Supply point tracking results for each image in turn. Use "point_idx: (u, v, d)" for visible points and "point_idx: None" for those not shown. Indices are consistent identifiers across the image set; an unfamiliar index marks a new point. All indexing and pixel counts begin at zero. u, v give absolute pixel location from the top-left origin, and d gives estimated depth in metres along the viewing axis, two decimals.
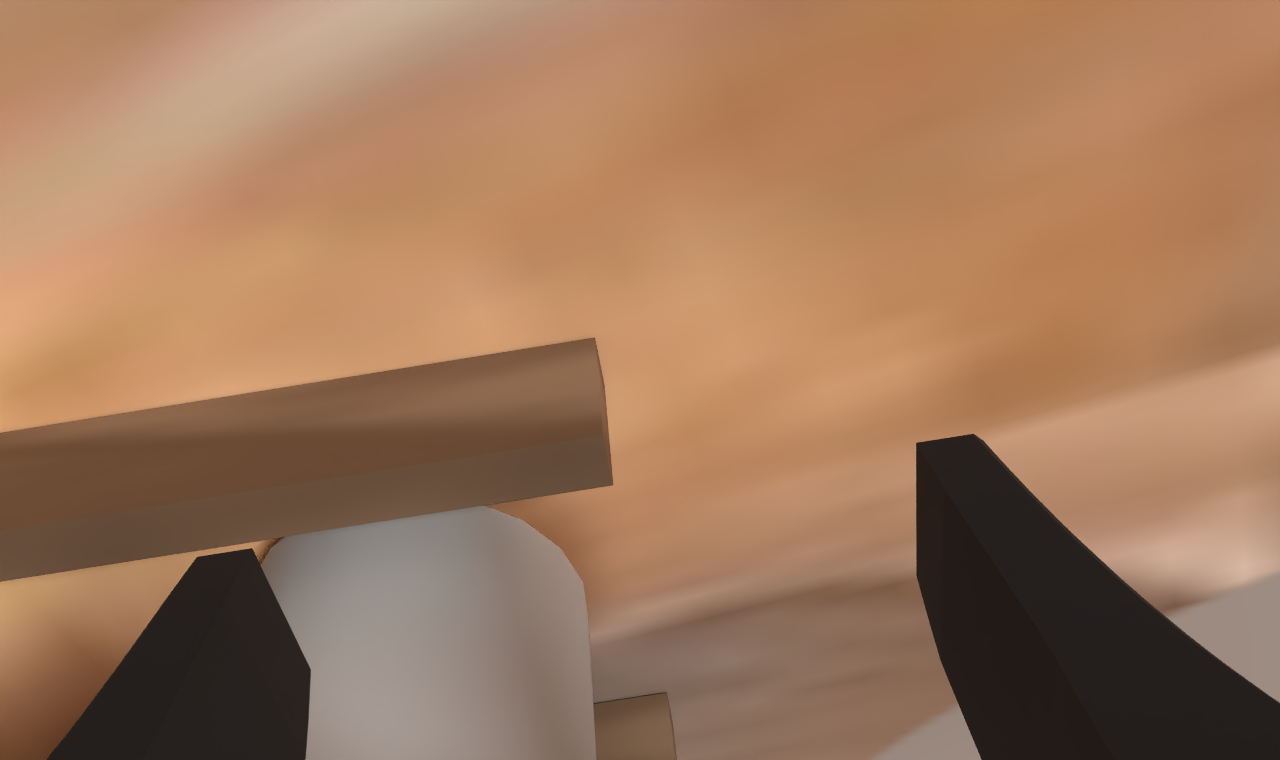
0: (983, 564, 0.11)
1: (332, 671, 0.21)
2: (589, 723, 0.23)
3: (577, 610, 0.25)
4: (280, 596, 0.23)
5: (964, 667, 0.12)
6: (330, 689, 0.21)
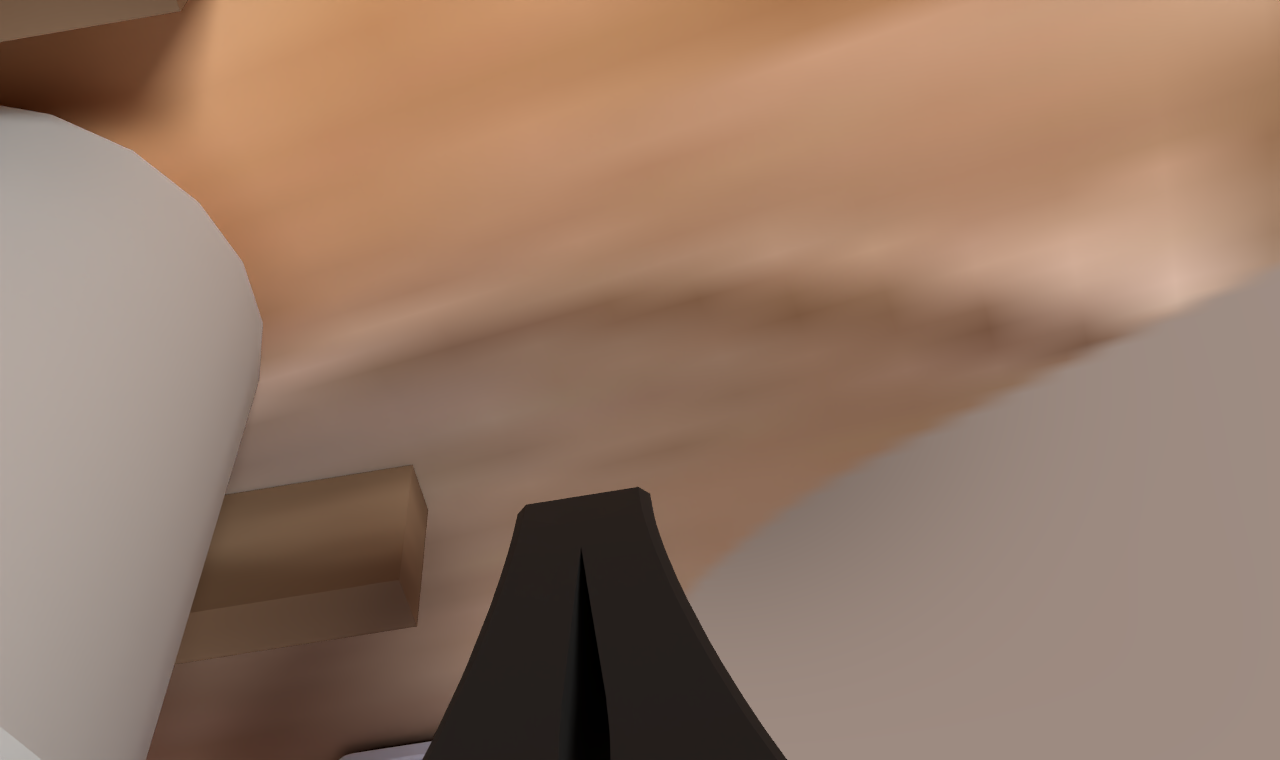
0: (595, 624, 0.11)
1: None
2: (187, 407, 0.16)
3: (213, 281, 0.18)
4: None
5: None
6: None
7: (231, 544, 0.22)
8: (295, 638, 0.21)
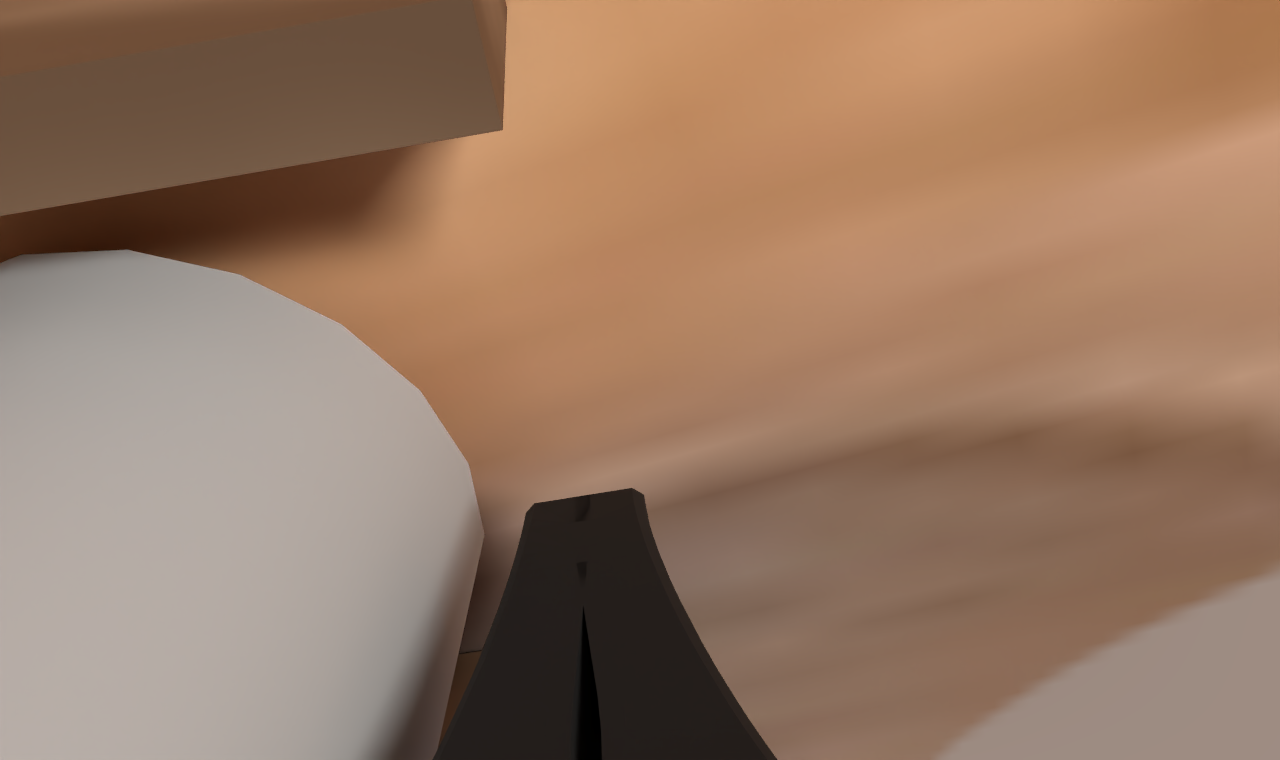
0: (587, 626, 0.11)
1: None
2: (397, 729, 0.11)
3: (434, 508, 0.13)
4: None
5: None
6: None
7: None
8: None
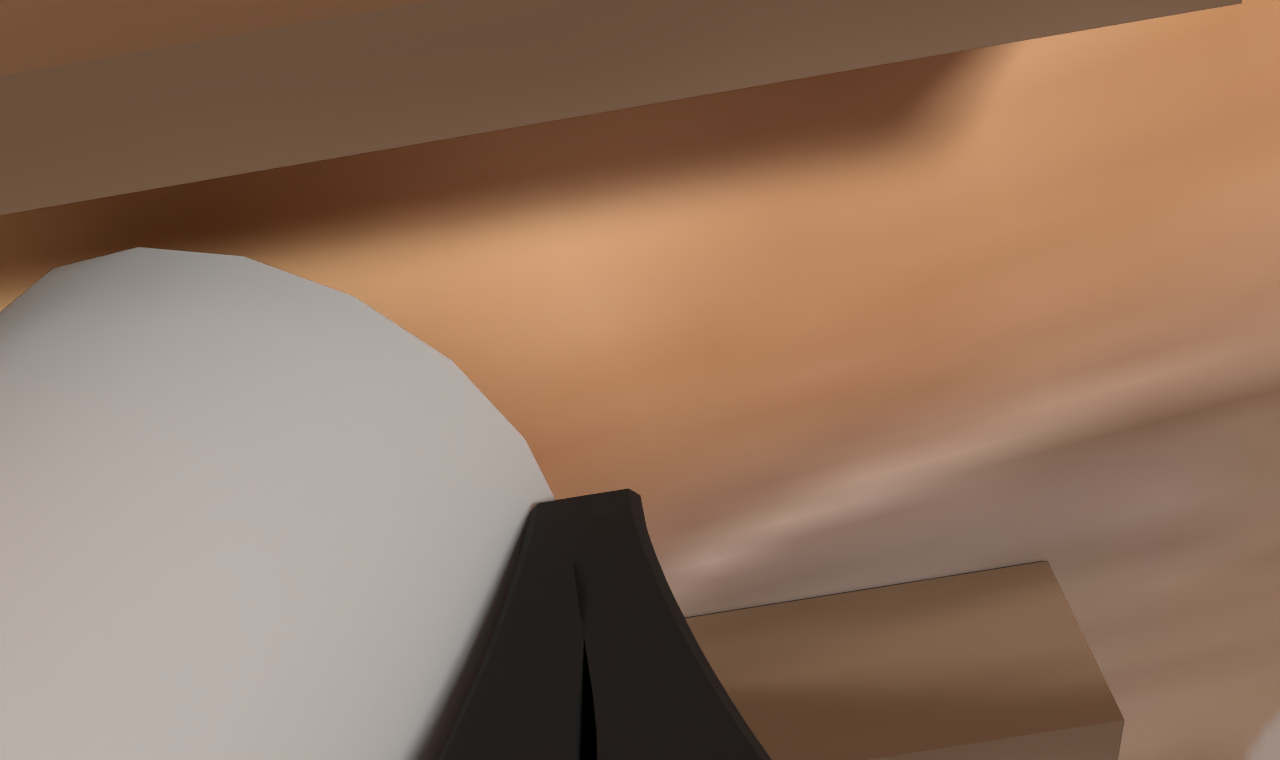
0: (584, 626, 0.11)
1: None
2: None
3: None
4: None
5: None
6: None
7: (861, 665, 0.18)
8: None
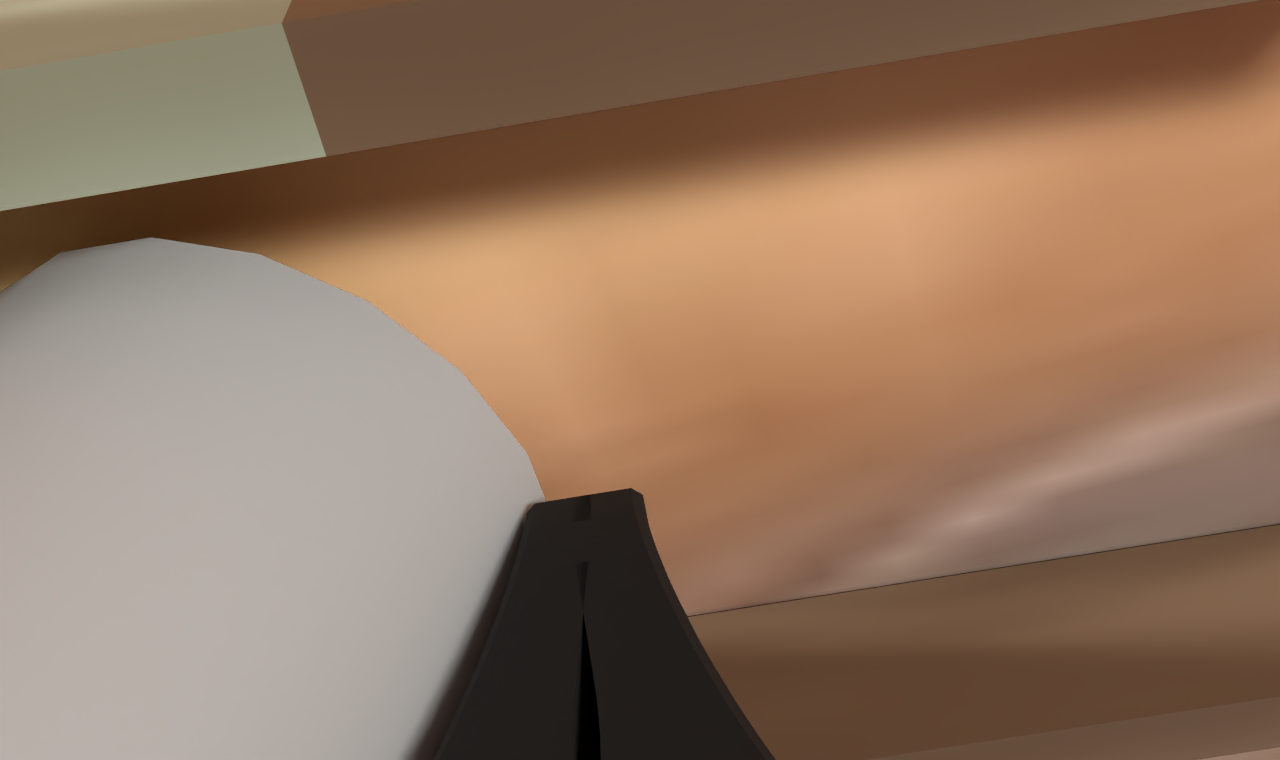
0: (587, 625, 0.11)
1: None
2: None
3: None
4: None
5: None
6: None
7: (1134, 623, 0.17)
8: (1248, 744, 0.17)
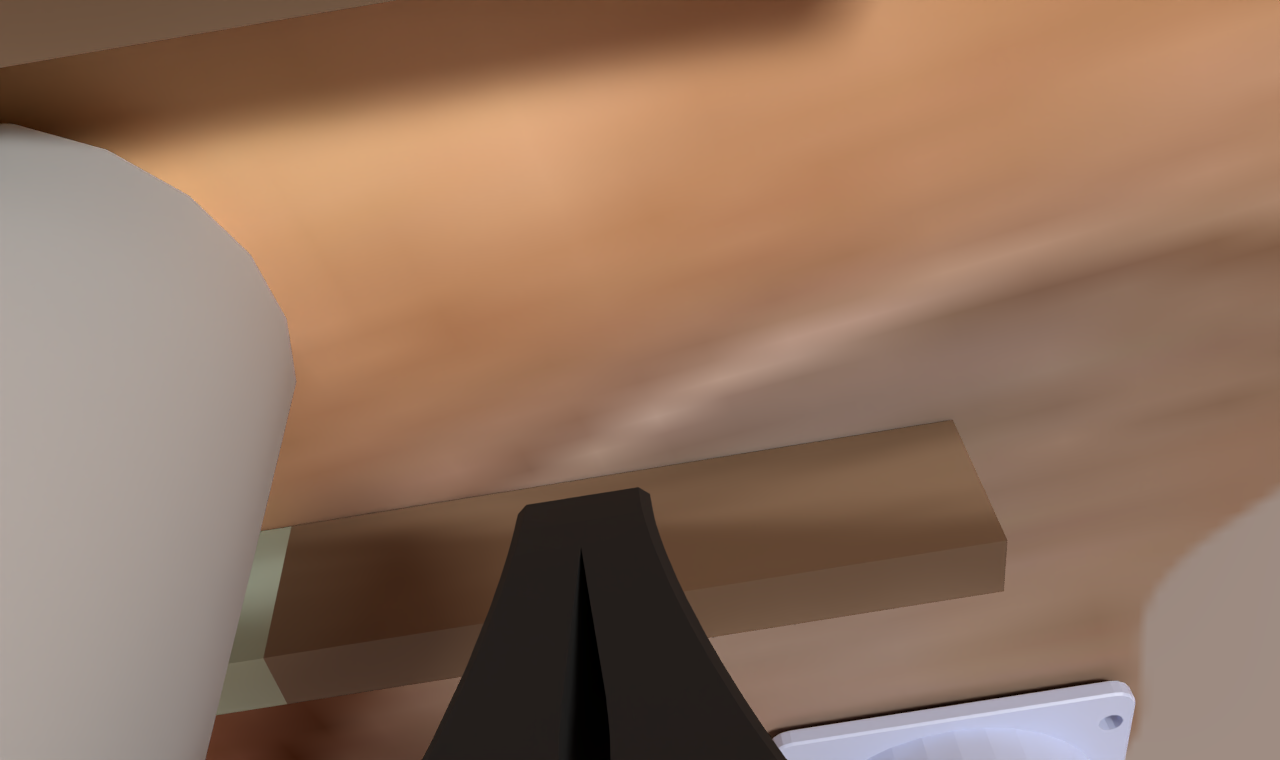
0: (595, 624, 0.11)
1: None
2: (238, 489, 0.15)
3: (261, 343, 0.17)
4: None
5: None
6: None
7: (786, 504, 0.20)
8: (873, 604, 0.20)
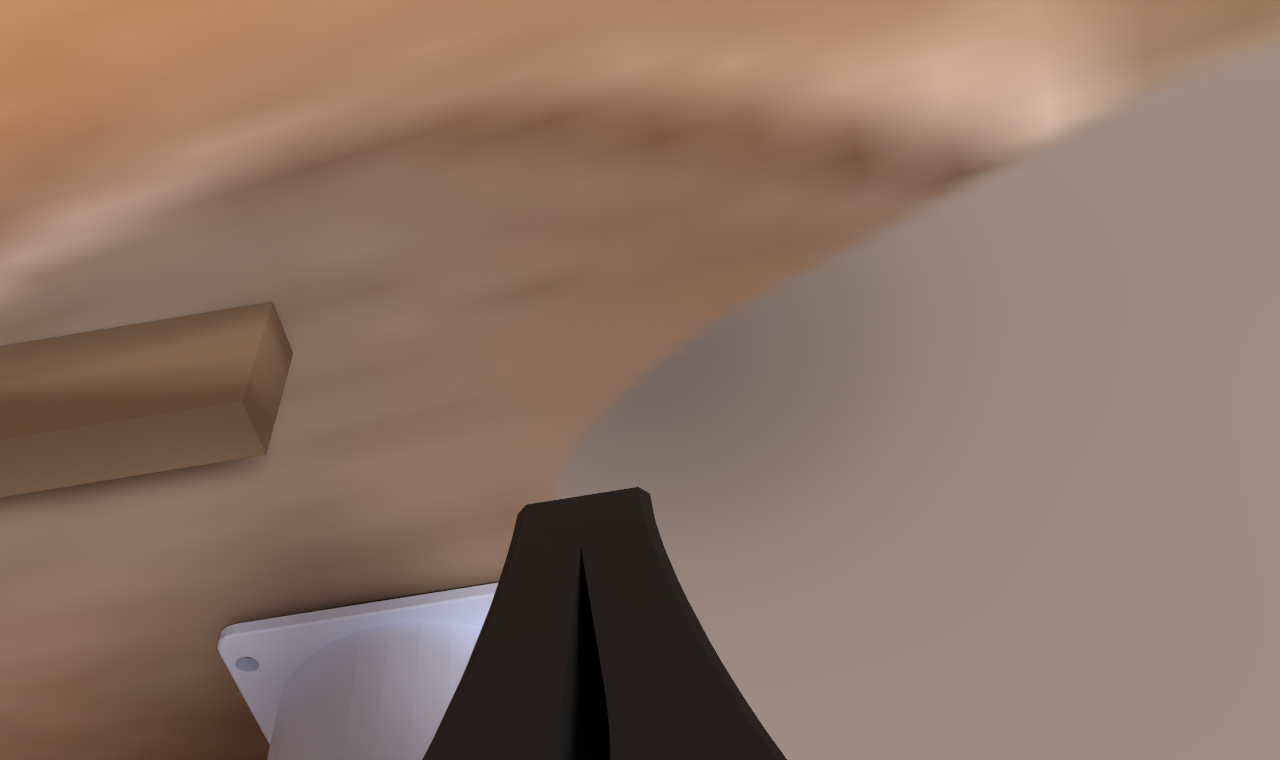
0: (595, 624, 0.11)
1: None
2: None
3: None
4: None
5: None
6: None
7: (80, 375, 0.21)
8: (141, 466, 0.21)
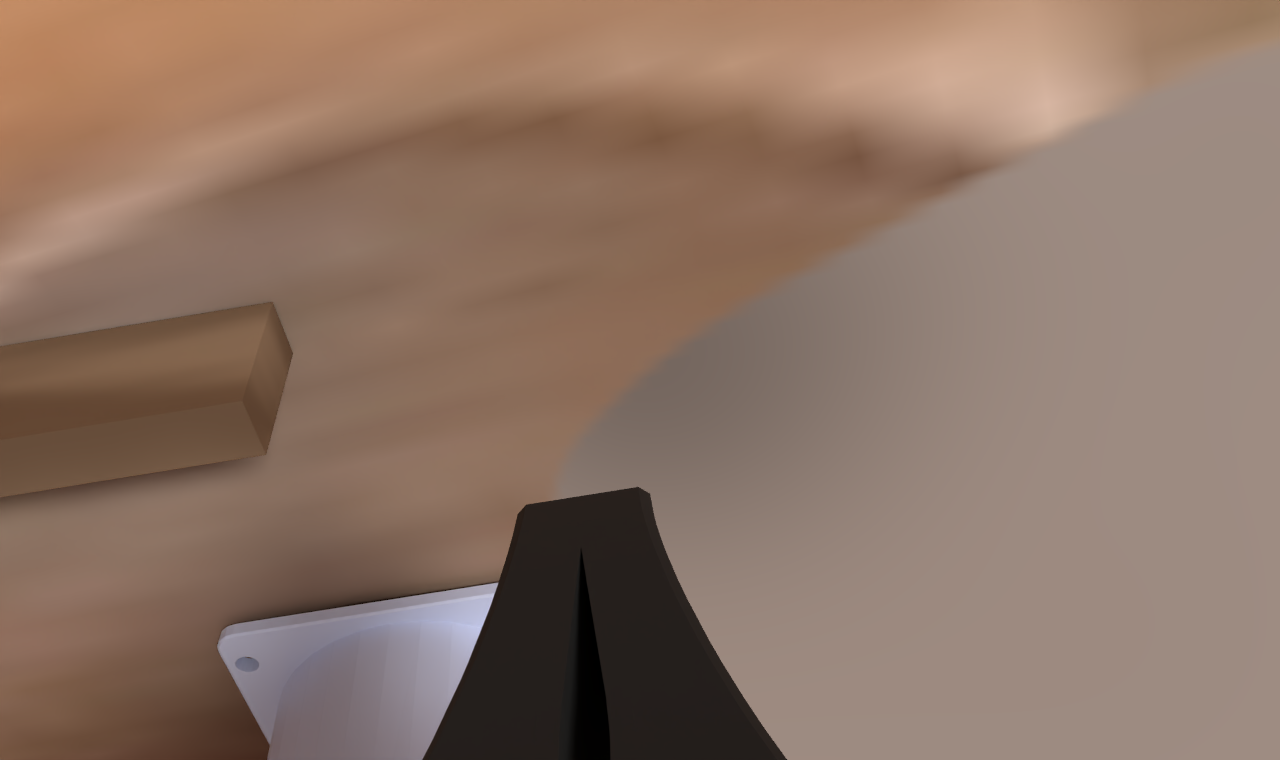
0: (595, 624, 0.11)
1: None
2: None
3: None
4: None
5: None
6: None
7: (80, 375, 0.21)
8: (141, 466, 0.21)
